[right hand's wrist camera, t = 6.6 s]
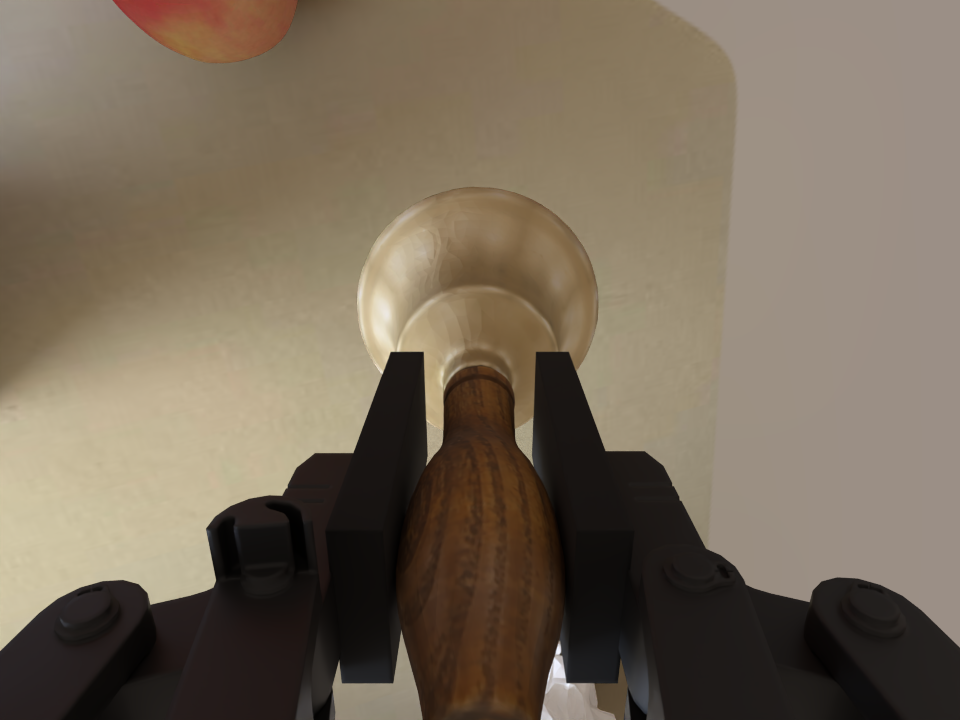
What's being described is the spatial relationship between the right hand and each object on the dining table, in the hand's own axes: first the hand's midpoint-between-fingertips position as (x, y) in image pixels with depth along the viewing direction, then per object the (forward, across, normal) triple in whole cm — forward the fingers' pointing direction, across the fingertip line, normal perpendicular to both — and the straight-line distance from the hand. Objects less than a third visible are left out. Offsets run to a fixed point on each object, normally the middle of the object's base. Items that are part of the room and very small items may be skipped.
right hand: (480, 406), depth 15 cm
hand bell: (+8, 0, 0) cm, 8 cm away
